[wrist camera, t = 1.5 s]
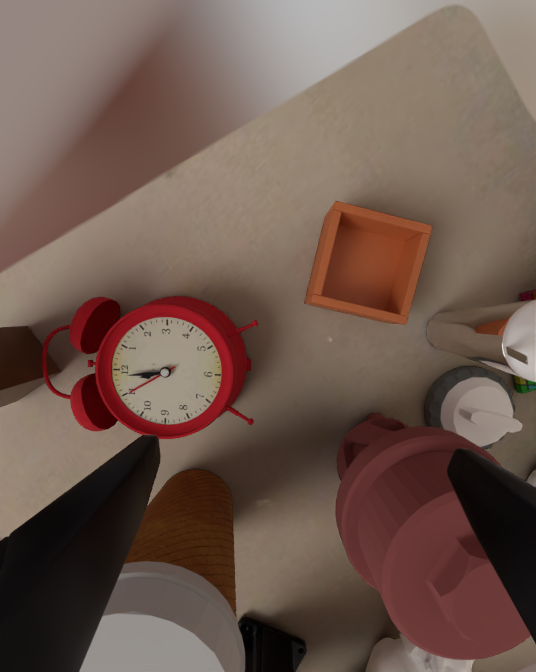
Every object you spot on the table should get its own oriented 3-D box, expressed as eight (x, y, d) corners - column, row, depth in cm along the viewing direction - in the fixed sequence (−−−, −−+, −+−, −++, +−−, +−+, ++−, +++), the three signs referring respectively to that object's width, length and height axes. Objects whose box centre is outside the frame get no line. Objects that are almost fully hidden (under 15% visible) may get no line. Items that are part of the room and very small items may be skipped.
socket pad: (386, 323, 22) (406, 324, 19) (303, 303, 22) (310, 302, 19) (409, 237, 22) (433, 225, 19) (325, 215, 22) (335, 200, 19)
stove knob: (494, 457, 24) (527, 477, 21) (414, 440, 23) (436, 458, 20) (519, 376, 23) (556, 385, 20) (438, 357, 23) (464, 363, 20)
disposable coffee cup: (263, 463, 23) (267, 625, 11) (237, 566, 24) (215, 821, 12) (150, 439, 23) (29, 581, 11) (128, 545, 23) (-9, 788, 11)
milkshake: (403, 312, 22) (520, 311, 12) (467, 297, 22) (633, 285, 12) (413, 365, 23) (533, 407, 13) (475, 351, 23) (644, 381, 13)
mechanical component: (448, 471, 24) (346, 525, 24) (398, 371, 23) (292, 428, 23) (653, 643, 11) (438, 752, 12) (560, 440, 10) (329, 561, 11)
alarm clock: (258, 448, 19) (-4, 471, 15) (243, 415, 25) (52, 425, 21) (264, 298, 18) (-13, 282, 14) (247, 300, 24) (49, 290, 20)
